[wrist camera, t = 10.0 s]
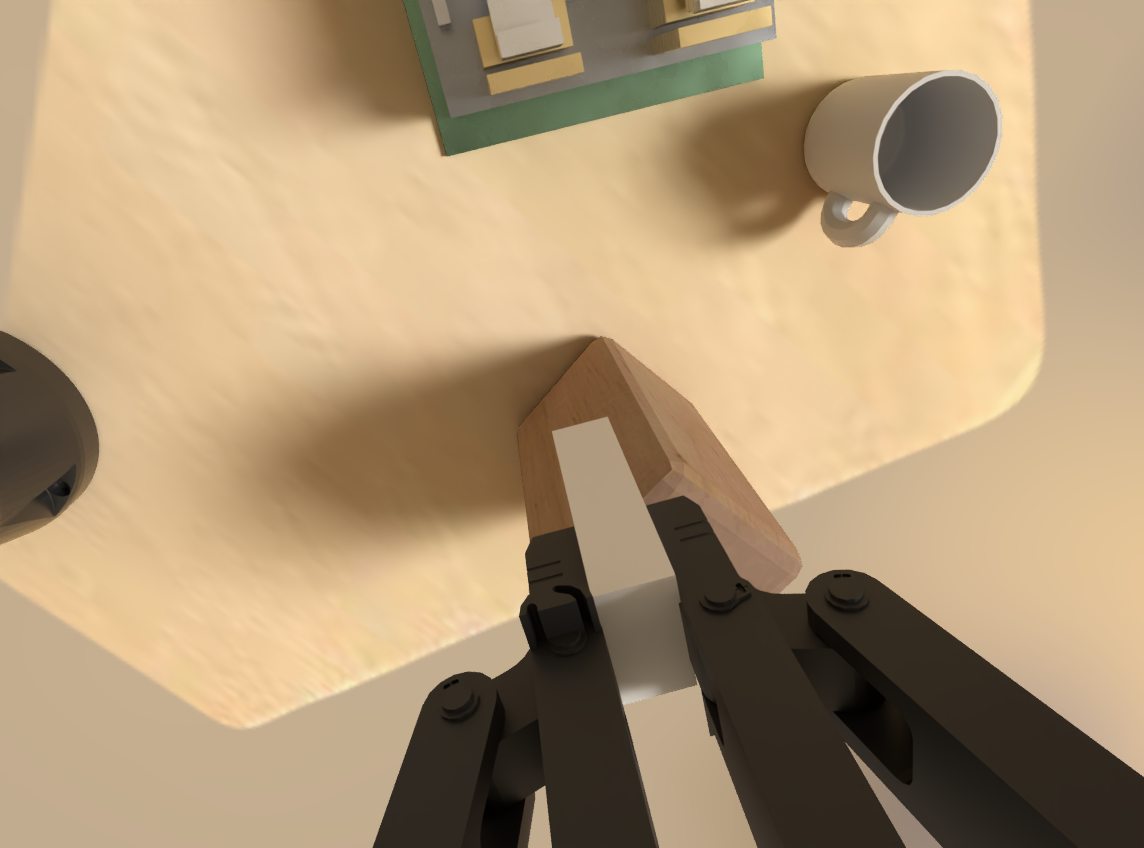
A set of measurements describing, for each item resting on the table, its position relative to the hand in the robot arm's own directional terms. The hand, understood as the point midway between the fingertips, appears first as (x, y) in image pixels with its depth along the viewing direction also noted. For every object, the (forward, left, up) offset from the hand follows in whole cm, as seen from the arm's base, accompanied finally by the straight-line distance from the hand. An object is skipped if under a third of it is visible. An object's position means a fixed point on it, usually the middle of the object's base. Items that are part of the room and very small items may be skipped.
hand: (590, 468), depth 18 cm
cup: (+22, +1, -30) cm, 37 cm away
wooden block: (+3, -13, -30) cm, 33 cm away
